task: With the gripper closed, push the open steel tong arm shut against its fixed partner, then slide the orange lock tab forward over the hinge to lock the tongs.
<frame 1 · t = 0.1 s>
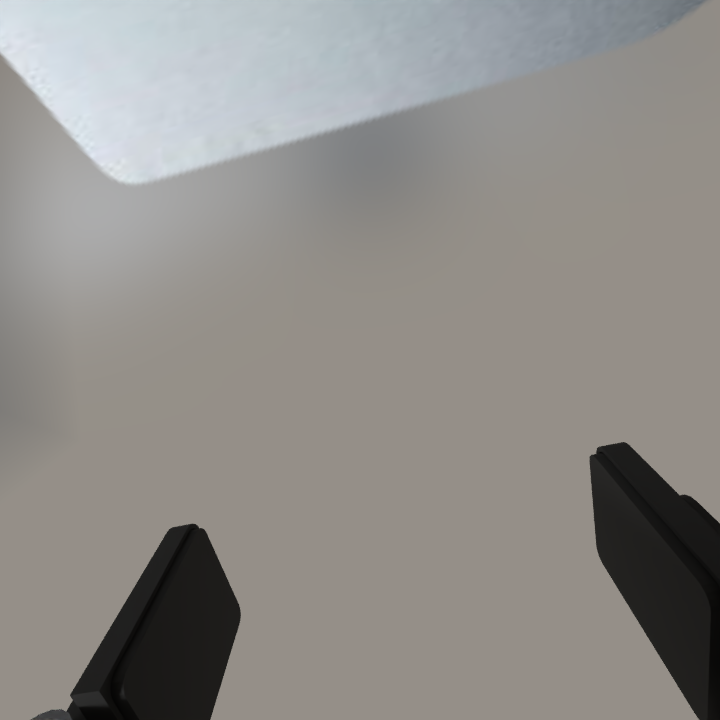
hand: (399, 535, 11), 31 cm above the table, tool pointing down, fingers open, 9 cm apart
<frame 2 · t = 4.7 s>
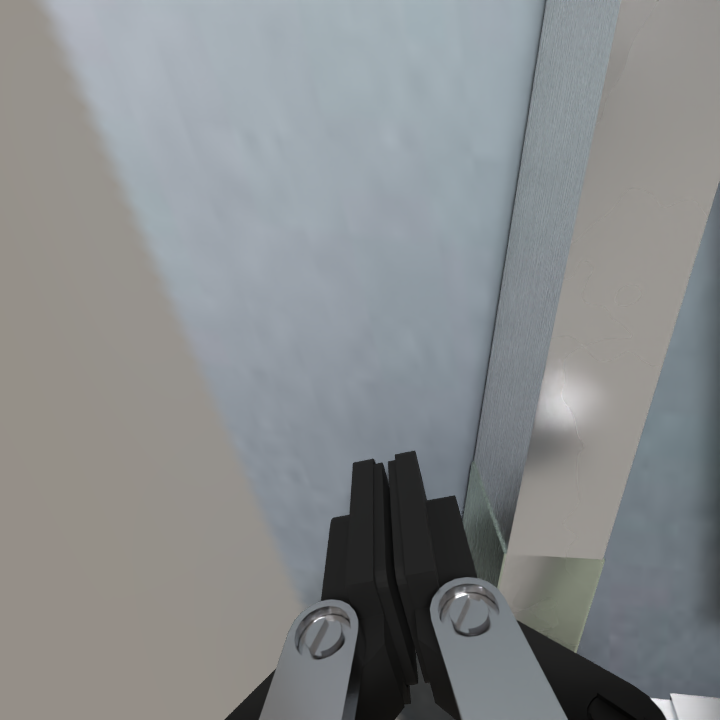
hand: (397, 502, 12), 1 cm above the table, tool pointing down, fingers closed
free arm: (629, 250, 9), point 2 cm above the table, hinge at 16.6°, touching gripper
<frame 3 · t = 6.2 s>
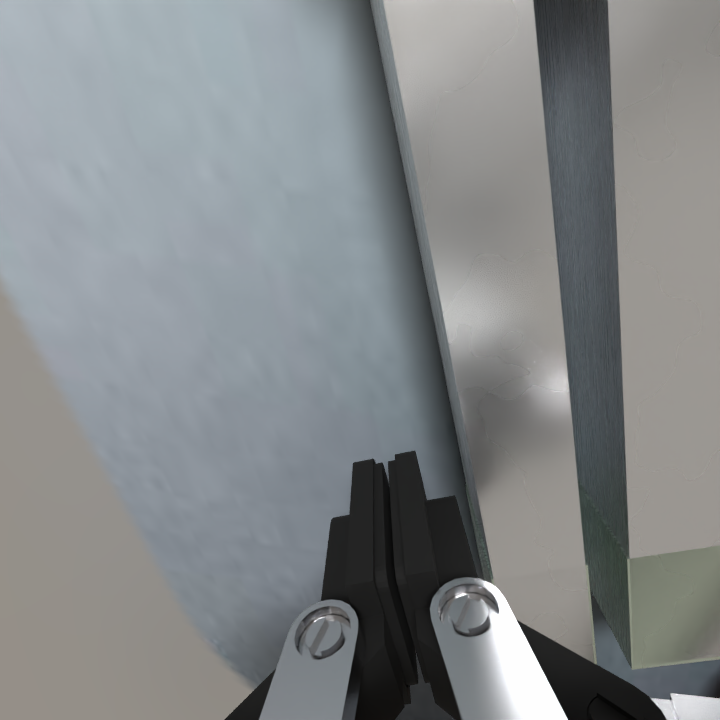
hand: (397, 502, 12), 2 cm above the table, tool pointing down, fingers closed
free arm: (524, 281, 9), point 2 cm above the table, hinge at -0.3°, touching gripper
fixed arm: (629, 332, 10), on the table
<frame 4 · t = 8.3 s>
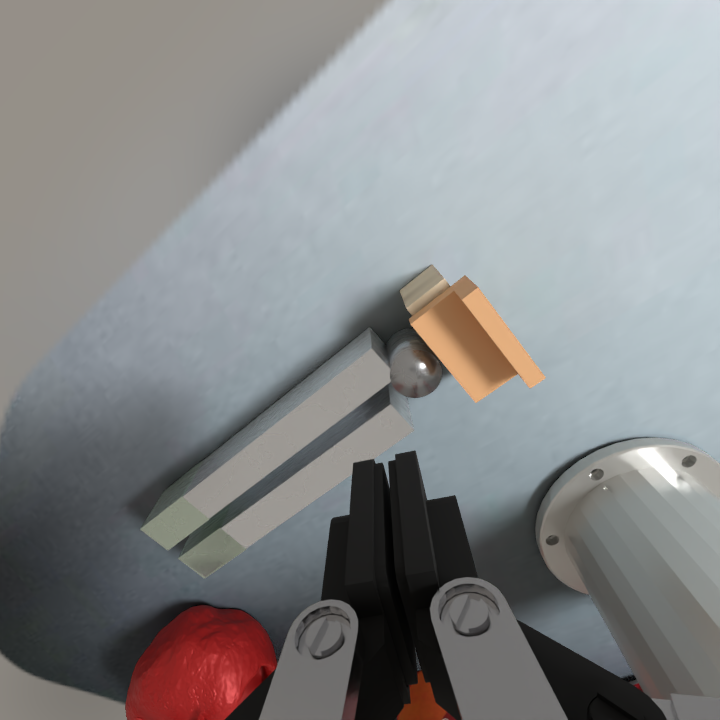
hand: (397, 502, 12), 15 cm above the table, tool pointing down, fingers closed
lock tab: (474, 347, 20), point 5 cm above the table, slide at 0.0 cm
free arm: (289, 441, 26), point 2 cm above the table, hinge at -0.3°
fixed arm: (293, 478, 27), on the table
pomegranate: (221, 634, 35), on the table
paper cup: (429, 689, 37), on the table
hinge block: (454, 328, 24), on the table
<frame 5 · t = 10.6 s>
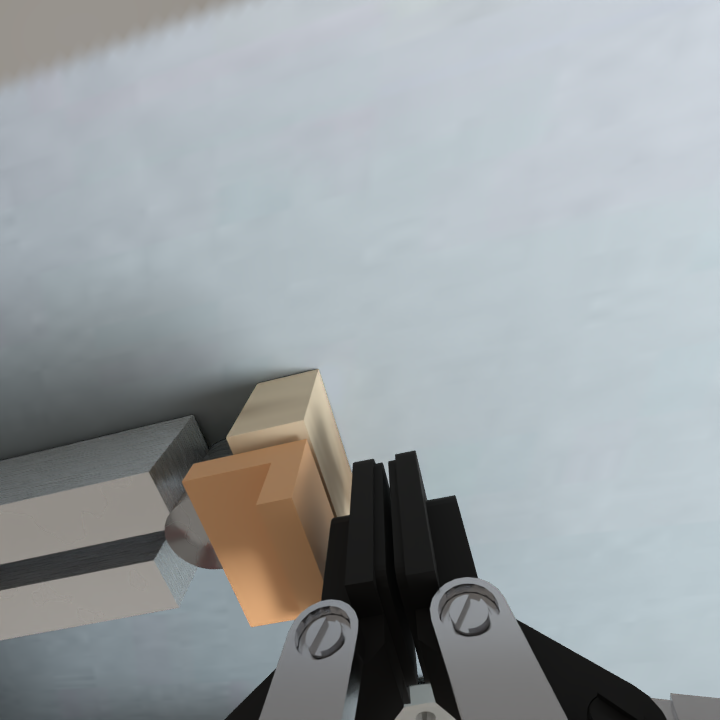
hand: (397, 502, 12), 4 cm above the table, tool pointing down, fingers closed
lock tab: (271, 560, 12), point 5 cm above the table, slide at 0.8 cm, touching gripper
hinge block: (306, 479, 15), on the table
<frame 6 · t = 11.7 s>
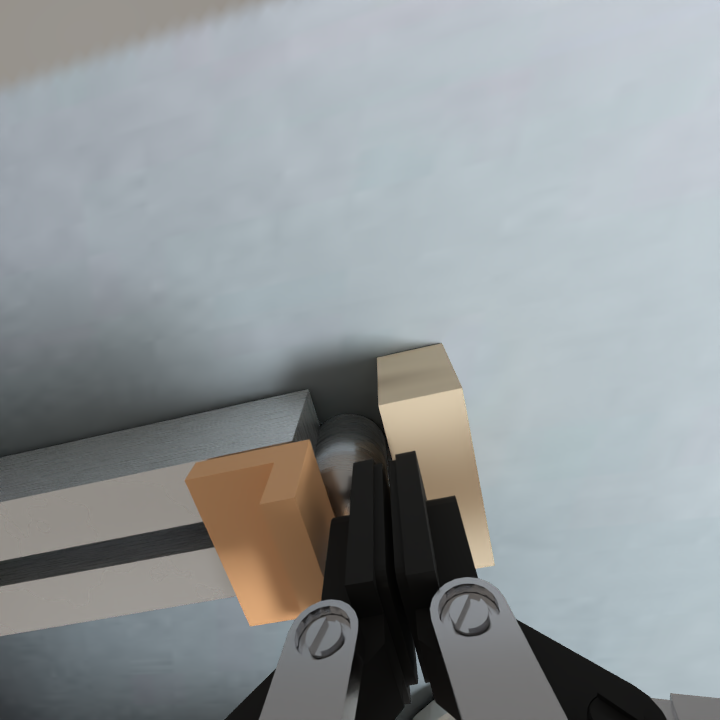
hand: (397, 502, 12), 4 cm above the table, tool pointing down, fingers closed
lock tab: (272, 559, 12), point 5 cm above the table, slide at 5.0 cm, touching gripper
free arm: (102, 506, 15), point 2 cm above the table, hinge at -0.3°
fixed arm: (87, 559, 16), on the table
hinge block: (432, 455, 14), on the table
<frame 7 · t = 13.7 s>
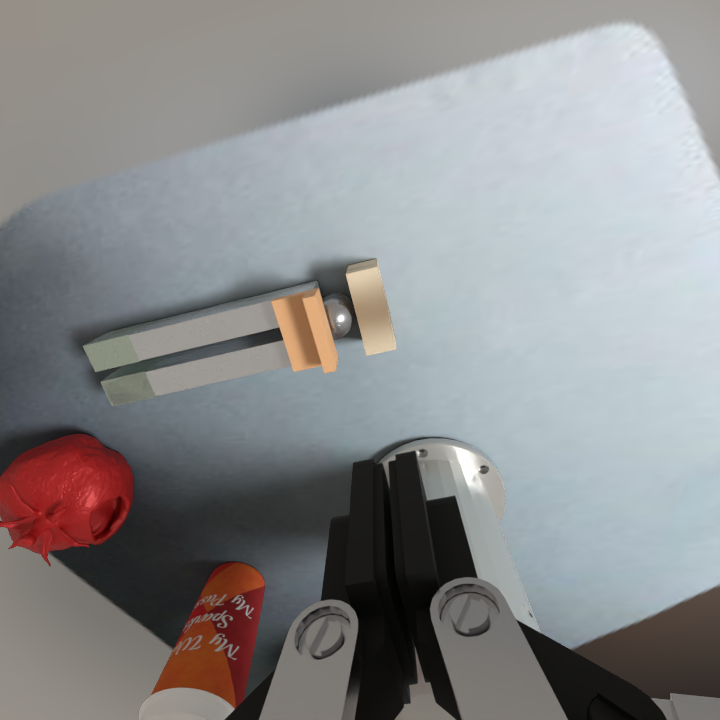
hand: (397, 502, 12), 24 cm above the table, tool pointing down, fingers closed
lock tab: (304, 334, 30), point 5 cm above the table, slide at 5.0 cm
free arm: (224, 333, 34), point 2 cm above the table, hinge at -0.3°
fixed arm: (214, 362, 35), on the table
pomegranate: (93, 469, 41), on the table
paper cup: (237, 581, 46), on the table
hinge block: (371, 306, 33), on the table
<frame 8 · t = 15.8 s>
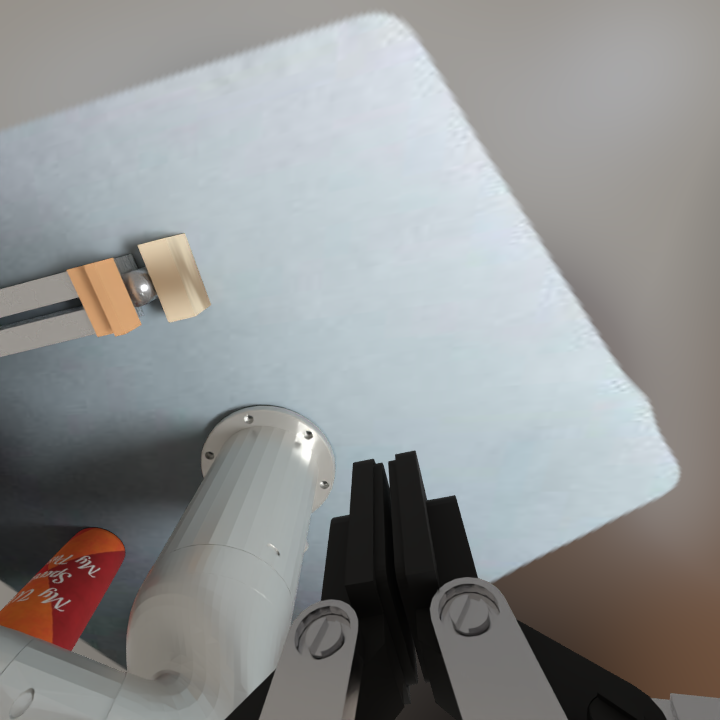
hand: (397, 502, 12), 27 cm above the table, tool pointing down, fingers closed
lock tab: (99, 300, 33), point 5 cm above the table, slide at 5.0 cm
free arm: (44, 303, 36), point 2 cm above the table, hinge at -0.3°
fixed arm: (39, 331, 37), on the table
paper cup: (99, 547, 48), on the table
hinge block: (176, 277, 35), on the table
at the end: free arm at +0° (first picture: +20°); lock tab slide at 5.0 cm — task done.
